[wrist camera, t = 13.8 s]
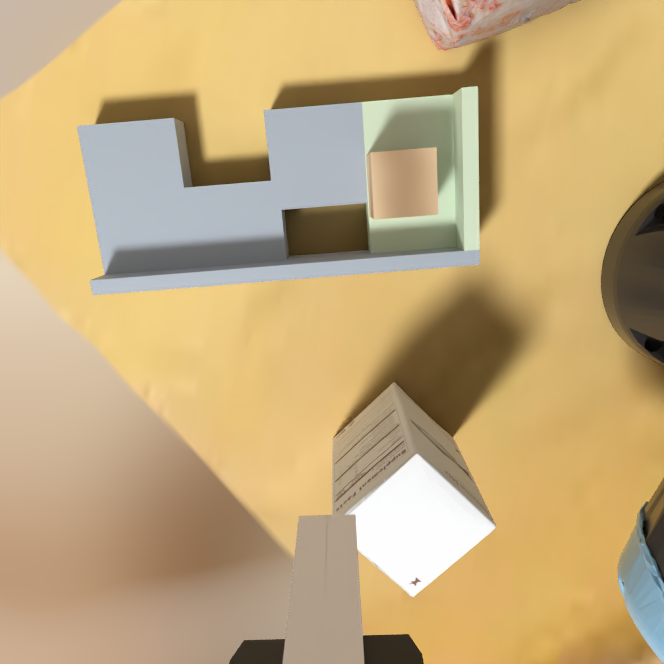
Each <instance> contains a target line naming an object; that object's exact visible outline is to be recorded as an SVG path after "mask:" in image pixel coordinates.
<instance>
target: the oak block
mask: <svg viewBox="0 0 664 664" xmlns="http://www.w3.org/2000/svg"><path fill="white" fill-rule="evenodd" d="M366 162H367V180H368V197H369V214H370V217H371V218H373V219H374V220H377V219H389V218H402V217H415V216H427V215H438V184H437V147H432V148H420V149H408V150H395V151H383V152H371V153H369V154H368V155H367V156H366Z"/></svg>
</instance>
